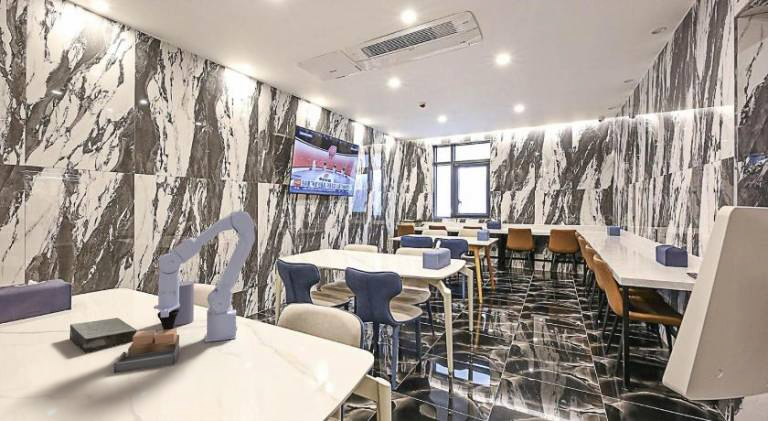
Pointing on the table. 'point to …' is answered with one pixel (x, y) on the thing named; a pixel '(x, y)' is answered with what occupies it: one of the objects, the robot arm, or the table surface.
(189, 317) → the container
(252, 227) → the robot arm
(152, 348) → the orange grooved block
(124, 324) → the stone block
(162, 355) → the tray
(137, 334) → the tile
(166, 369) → the table surface
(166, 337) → the tile
